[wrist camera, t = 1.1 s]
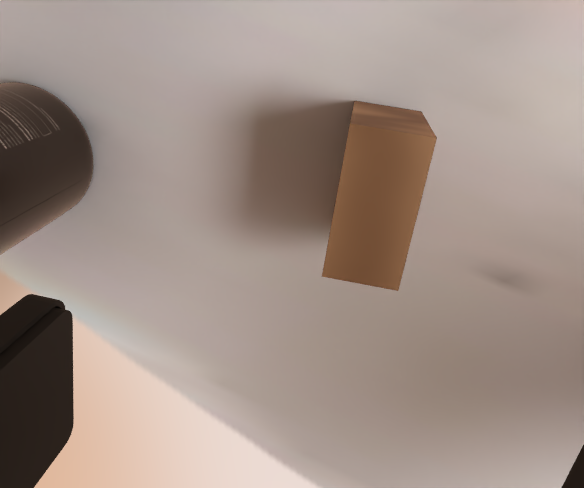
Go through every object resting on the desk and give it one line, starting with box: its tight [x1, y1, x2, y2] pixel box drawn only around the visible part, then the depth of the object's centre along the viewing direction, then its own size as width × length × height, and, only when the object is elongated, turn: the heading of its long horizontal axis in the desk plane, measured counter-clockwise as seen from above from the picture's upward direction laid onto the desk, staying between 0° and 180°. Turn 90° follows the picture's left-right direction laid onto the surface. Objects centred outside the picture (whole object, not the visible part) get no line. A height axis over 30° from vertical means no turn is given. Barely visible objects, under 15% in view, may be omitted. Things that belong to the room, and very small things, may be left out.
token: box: [322, 101, 437, 291], centre depth 22 cm, size 3×6×6 cm, turn 172°
